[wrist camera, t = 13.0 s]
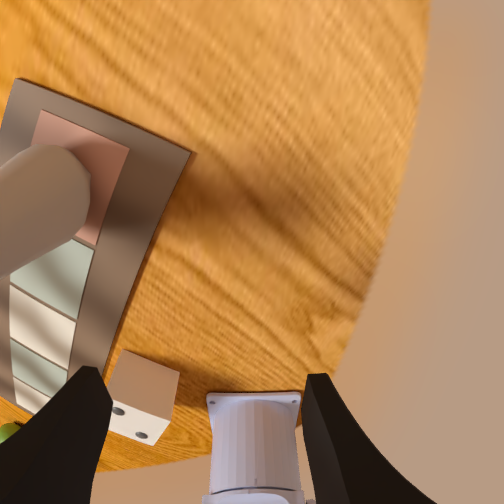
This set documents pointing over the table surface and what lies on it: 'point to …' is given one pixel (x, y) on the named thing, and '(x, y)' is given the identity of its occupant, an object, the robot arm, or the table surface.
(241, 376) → the table surface
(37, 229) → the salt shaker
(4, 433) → the green ball handle toy
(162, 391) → the die
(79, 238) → the game board
